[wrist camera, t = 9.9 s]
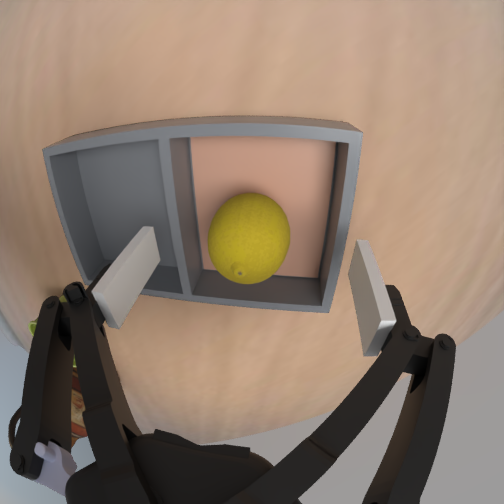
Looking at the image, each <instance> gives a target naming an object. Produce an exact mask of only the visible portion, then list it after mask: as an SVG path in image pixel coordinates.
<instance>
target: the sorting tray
mask: <svg viewBox="0 0 504 504" xmlns="http://www.w3.org/2000/svg"><path fill="white" fill-rule="evenodd" d="M362 137H363V132H362V131H360V130H359V129H357V128H356V127H354V126H353V125H351V124H350V123H347V122H339V121H331V120H321V119H311V118H297V117H280V116H209V117H192V118H179V119H168V120H159V121H150V122H142V123H135V124H129V125H122V126H117V127H111V128H106V129H100V130H95V131H91V132H86V133H82V134H77V135H73V136H71V137H68V138H66V139H64V140H61V141H59V142H57V143H54V144H52V145H50V146H48V147H46V148H44V149H42V150H43V155H44V160H45V165H46V169H47V174H48V178H49V182H50V186H51V190H52V194H53V197H54V201H55V204H56V208H57V211H58V214H59V217H60V221H61V224H62V227H63V230H64V233H65V235H66V238H67V241H68V244H69V247H70V249H71V252H72V254H73V257H74V260H75V262H76V265H77V267H78V269H79V272H80V274H81V277H82V279H83V281H84V283H85V285H90V284H91V283H92V282H93V280H94V279H95V278H96V276H97V275H99V273H100V271H101V270H102V269H103V268H104V267H105V266H107V265H108V264H109V263H111V264H113V262H114V261H115V260H116V259H117V257H118V256H119V255H120V254H121V252H122V251H123V250H124V249H125V247H126V246H127V245H128V244H129V243H130V241H131V240H132V239H133V238H134V237H135V235H136V234H137V233H138V232H139V231H140V230H141V228H142V227H143V226H150V227H153V228H154V233H155V238H156V242H157V247H158V251H159V256H160V262H159V263H158V265H157V266H156V268H155V270H154V271H153V273H152V274H151V276H150V278H149V279H148V281H147V283H146V284H145V286H144V288H143V289H142V291H141V293H140V294H142V295H149V296H156V297H163V298H170V299H178V300H185V301H193V302H202V303H210V304H219V305H229V306H239V307H250V308H261V309H273V310H287V311H302V312H319V313H329V311H330V308H331V304H332V300H333V296H334V292H335V288H336V284H337V280H338V276H339V272H340V267H341V263H342V258H343V254H344V249H345V244H346V240H347V235H348V229H349V224H350V219H351V213H352V208H353V202H354V196H355V190H356V183H357V176H358V169H359V162H360V154H361V146H362ZM244 193H259V194H262V195H266V196H268V197H269V198H271V199H273V200H274V201H275V202H276V203H277V204H278V205H280V206H281V208H282V209H283V211H284V213H285V214H286V216H287V219H288V222H289V226H290V245H289V249H288V252H287V255H286V258H285V260H284V262H283V263H282V265H281V266H280V268H279V269H278V270H277V271H276V272H275V273H274V274H273V275H272V276H271V277H269V278H268V279H266V280H264V281H262V282H259V283H254V284H240V283H236V282H233V281H231V280H229V279H227V278H225V277H224V276H223V275H221V274H220V273H219V272H218V271H217V270H216V268H215V267H214V265H213V263H212V262H211V259H210V256H209V253H208V232H209V228H210V225H211V221H212V219H213V217H214V215H215V214H216V212H217V211H218V209H219V208H220V207H221V206H222V205H223V204H224V203H225V202H226V201H228V200H229V199H230V198H232V197H235V196H237V195H239V194H244Z"/></svg>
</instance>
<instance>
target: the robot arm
mask: <svg viewBox="0 0 504 504" xmlns="http://www.w3.org/2000/svg"><path fill="white" fill-rule="evenodd" d="M159 262H160V256H159V251H158V247H157V242H156V238H155V233H154V228H153V227H150V226H143V227H142V228H141V230H140V231H139V232H138V233H137V234H136V235H135V237H134V238H133V239H132V240H131V241H130V243H129V244H128V245H127V246H126V247H125V249H124V250H123V251H122V252H121V254H120V255H119V256H118V257H117V259H116V260H115V261H114V262H113V264H111V263H109V264H108V265H107V266H105V267H104V268H103V269H102V270H101V271H100V273H99V275H97V276H96V278H95V279H94V280H93V282H92V283H91V284H90V285H89V287H88V288H87V289H86V291H85V289H84V287H83V284H82V283H81V282H73V283H71V284H69V285H67V286H66V287H65V289H64V290H63V295H64V297H65V299H66V300H67V302H60V300H59V298H58V297H57V296H51V297H49V298H47V299H46V300H45V301H44V302H43V304H42V307H41V310H40V313H39V317H38V320H37V324H36V328H35V332H34V336H33V340H32V344H31V349H30V353H29V358H28V363H27V369H26V375H25V381H24V389H23V397H22V405H21V417H20V424H19V427H18V430H17V434H16V436H15V440H14V443H13V446H12V450H11V453H10V465H11V467H12V469H13V470H14V471H15V472H16V473H17V474H19V475H21V476H23V477H25V478H28V479H30V480H32V481H35V482H37V483H40V484H42V485H45V486H47V487H49V488H50V489H52V490H54V491H56V492H58V493H59V494H61V495H63V496H65V497H66V501H67V504H302V503H301V502H300V501H299V499H298V498H299V497H300V496H301V495H302V494H303V493H304V492H305V491H307V490H308V489H309V488H310V487H311V486H312V485H313V484H314V483H315V482H316V481H317V480H318V479H319V478H320V477H321V476H322V475H323V474H324V473H325V472H326V471H327V470H328V469H329V468H330V467H331V466H332V465H333V464H334V463H335V461H336V460H337V458H338V457H339V456H340V455H341V454H342V453H343V452H344V450H345V449H346V448H347V447H348V446H349V445H350V443H351V442H352V441H353V440H354V439H355V438H356V436H357V435H358V434H359V433H360V432H361V430H362V429H363V428H364V426H365V425H366V424H367V423H368V421H369V420H370V419H371V417H372V416H373V415H374V413H375V412H376V410H377V409H378V408H379V407H380V405H381V404H382V402H383V401H384V399H385V398H386V397H387V395H388V394H389V392H390V391H391V389H392V388H393V386H394V385H395V383H396V382H397V380H398V378H399V377H400V375H401V374H402V372H406V373H410V374H412V376H411V380H410V384H409V387H408V391H407V394H406V397H405V401H404V404H403V407H402V410H401V413H400V416H399V419H398V422H397V425H396V428H395V430H394V433H393V436H392V438H391V440H390V443H389V445H388V448H387V450H386V453H385V455H384V457H383V460H382V462H381V464H380V466H379V468H378V471H377V473H376V475H375V477H374V479H373V481H372V483H371V485H370V487H369V489H368V491H367V493H366V495H365V497H364V500H363V503H362V504H419V502H420V497H421V495H422V492H423V490H424V487H425V485H426V482H427V479H428V476H429V474H430V471H431V468H432V465H433V462H434V459H435V456H436V453H437V449H438V446H439V442H440V439H441V435H442V431H443V427H444V422H445V418H446V413H447V408H448V403H449V398H450V392H451V386H452V379H453V371H454V362H455V351H456V345H455V342H454V340H453V339H452V338H451V337H450V336H448V335H447V334H438V335H437V336H436V337H435V339H432V338H428V337H424V336H422V335H421V333H420V332H419V330H418V329H417V328H416V327H415V326H412V325H411V322H410V319H409V316H408V314H407V311H406V308H405V306H404V302H403V300H402V297H401V294H400V292H399V291H398V289H397V288H396V287H395V286H394V285H385V284H384V281H383V278H382V275H381V273H380V270H379V267H378V265H377V262H376V259H375V257H374V254H373V252H372V249H371V246H370V244H369V241H368V240H359V239H357V240H356V244H355V249H354V253H353V257H352V261H351V265H350V269H349V273H348V276H349V280H350V285H351V289H352V294H353V299H354V304H355V309H356V314H357V319H358V325H359V330H360V336H361V342H362V349H363V355H364V356H378V354H379V352H380V351H382V353H381V354H380V355H379V357H378V358H377V359H376V361H375V362H374V363H373V365H372V366H371V367H370V369H369V370H368V371H367V373H366V374H365V375H364V376H363V378H362V379H361V380H360V381H359V383H358V384H357V385H356V386H355V387H354V389H353V390H352V391H351V392H350V393H349V395H348V396H347V397H346V398H345V399H344V400H343V401H342V403H341V404H340V405H339V406H338V407H337V408H336V409H335V410H334V411H333V413H332V414H331V415H330V416H329V417H328V418H327V419H326V420H325V421H324V422H323V423H322V424H321V425H320V426H319V427H318V428H317V429H316V430H315V431H314V432H313V433H312V434H311V435H310V436H309V437H308V438H306V439H305V440H304V441H302V442H301V443H300V444H299V445H298V446H297V447H296V448H295V449H294V450H293V451H291V452H290V453H289V454H288V455H287V456H286V457H285V458H284V459H282V460H281V461H280V462H279V463H278V464H277V465H276V466H273V465H272V464H271V463H270V462H269V461H267V460H266V459H265V458H263V457H261V456H259V455H257V454H255V453H252V452H250V448H249V447H240V446H233V445H226V444H224V445H206V446H205V445H204V446H201V445H197V444H195V443H193V442H191V441H189V440H186V439H184V438H182V437H181V436H179V435H176V434H172V433H168V432H165V431H161V430H158V429H155V431H154V433H151V434H142V433H141V431H140V430H139V428H138V427H137V425H136V423H135V421H134V418H133V416H132V413H131V411H130V408H129V406H128V403H127V400H126V398H125V395H124V392H123V389H122V386H121V383H120V380H119V377H118V374H117V371H116V368H115V365H114V362H113V358H112V355H111V351H110V348H109V344H108V340H107V337H106V333H105V329H104V327H103V325H102V324H103V323H104V321H105V320H106V322H107V324H108V326H109V327H112V328H116V329H120V327H121V326H122V324H123V322H124V320H125V318H126V317H127V315H128V313H129V311H130V310H131V308H132V306H133V304H134V303H135V301H136V299H137V298H138V296H139V294H140V293H141V291H142V289H143V288H144V286H145V284H146V283H147V281H148V279H149V278H150V276H151V274H152V273H153V271H154V270H155V268H156V266H157V265H158V263H159ZM74 357H75V363H76V368H77V374H78V379H79V384H80V388H81V393H82V397H83V401H84V405H85V411H83V412H82V417H83V421H84V425H85V428H86V432H87V435H88V438H89V441H90V445H91V448H92V451H93V454H94V456H95V459H96V461H95V462H93V463H92V464H90V465H88V466H86V467H85V468H83V469H81V470H79V471H78V472H75V470H76V469H77V465H76V463H75V462H74V460H73V457H72V455H71V446H72V428H71V396H72V375H73V362H74Z"/></svg>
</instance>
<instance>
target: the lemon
mask: <svg viewBox="0 0 504 504" xmlns="http://www.w3.org/2000/svg"><path fill="white" fill-rule="evenodd" d="M289 245H290V226H289V222H288V219H287V216H286V214H285V213H284V211H283V209H282V208H281V206H280V205H278V204H277V203H276V202H275V201H274V200H273V199H271V198H269V197H268V196H266V195H262V194H259V193H244V194H239V195H237V196H235V197H232V198H230V199H229V200H228V201H226V202H225V203H224V204H223V205H222V206H221V207H220V208H219V209H218V211H217V212H216V214H215V215H214V217H213V219H212V221H211V225H210V228H209V232H208V253H209V256H210V259H211V262H212V263H213V265H214V267H215V268H216V270H217V271H218V272H219V273H220V274H221V275H223V276H224V277H225V278H227V279H229V280H231V281H233V282H236V283H240V284H254V283H259V282H262V281H264V280H266V279H268V278H269V277H271V276H272V275H273V274H274V273H275V272H276V271H277V270H278V269H279V268H280V266H281V265H282V263H283V262H284V260H285V258H286V255H287V252H288V249H289Z"/></svg>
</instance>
